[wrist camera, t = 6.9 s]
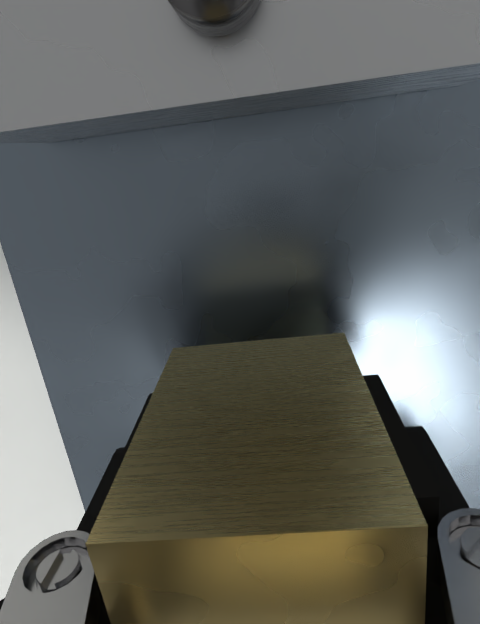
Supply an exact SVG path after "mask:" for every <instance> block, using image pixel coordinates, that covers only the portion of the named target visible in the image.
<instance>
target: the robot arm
mask: <svg viewBox="0 0 480 624" xmlns="http://www.w3.org/2000/svg"><path fill="white" fill-rule="evenodd" d="M363 377H364V380H365V382H366V384H367V387H368V389H369V391H370V394H371V396H372V398H373V401H374V403H375V405H376V407H377V410H378V412H379V414H380V417H381V419H382V421H383V424H384V426H385V428H386V431H387V433H388V435H389V437H390V440H391V442H392V444H393V447H394V449H395V451H396V454H397V456H398V458H399V461H400V463H401V465H402V468H403V470H404V472H405V474H406V477H407V479H408V481H409V484H410V486H411V488H412V491H413V493H414V495H415V498H416V500H417V502H418V504H419V507H420V509H421V511H422V514H423V516H424V518H425V521H426V523H427V525H428V539H427V571H426V603H425V624H480V509H476V508H470V507H469V506H468V504H467V502H466V500H465V498H464V497H463V495H462V493H461V491H460V490H459V488H458V486H457V484H456V483H455V481H454V479H453V477H452V476H451V474H450V472H449V470H448V469H447V467H446V465H445V463H444V462H443V460H442V458H441V456H440V454H439V453H438V451H437V449H436V447H435V446H434V444H433V442H432V440H431V439H430V437H429V435H428V433H427V432H426V430H425V429H424V427H422V426H409V427H405V426H404V424H403V422H402V420H401V418H400V416H399V414H398V412H397V410H396V408H395V406H394V404H393V402H392V400H391V398H390V396H389V394H388V392H387V390H386V388H385V386H384V384H383V382H382V380H381V378H380V376H379V375H378V374H375V375H363ZM152 394H153V393H150V394H149V396H148V398H147V400H146V402H145V404H144V407H143V409H142V411H141V413H140V415H139V417H138V420H137V422H136V424H135V426H134V428H133V431H132V433H131V435H130V437H129V439H128V442H127V444H126V446H125V447H121V448H118V449H116V451H115V452H114V454H113V456H112V458H111V460H110V462H109V464H108V466H107V469H106V471H105V473H104V475H103V477H102V479H101V481H100V483H99V485H98V487H97V489H96V491H95V493H94V495H93V498H92V500H91V502H90V504H89V506H88V508H87V510H86V512H85V514H84V516H83V518H82V520H81V522H80V524H79V526H78V529H77V530H73V531H65V532H61V533H58V534H55V535H53V536H51V537H49V538H47V539H45V540H43V541H42V542H40V543H39V544H38V545H36V546H35V547H34V548H33V549H31V550H30V551H29V552H28V554H27V555H26V556H25V557H24V558H23V559H22V560H21V562H20V564H19V566H18V567H17V569H16V571H15V573H14V576H13V579H12V581H11V584H10V586H9V589H8V592H7V594H6V597H5V598H4V599H2V600H1V601H0V624H111V622H110V618H109V615H108V612H107V609H106V606H105V603H104V600H103V597H102V594H101V591H100V588H99V585H98V582H97V578H96V575H95V572H94V569H93V566H92V563H91V560H90V557H89V554H88V551H87V548H86V545H85V544H86V542H87V539H88V537H89V535H90V533H91V531H92V528H93V526H94V524H95V522H96V519H97V517H98V515H99V513H100V510H101V508H102V506H103V504H104V501H105V499H106V497H107V495H108V493H109V490H110V488H111V486H112V484H113V481H114V479H115V477H116V475H117V472H118V470H119V468H120V466H121V463H122V461H123V459H124V457H125V455H126V452H127V450H128V448H129V446H130V443H131V441H132V439H133V437H134V434H135V432H136V430H137V428H138V425H139V423H140V421H141V419H142V416H143V414H144V412H145V410H146V408H147V405H148V403H149V401H150V399H151V396H152Z"/></svg>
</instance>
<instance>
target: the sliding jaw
mask: <svg viewBox="0 0 480 624" xmlns="http://www.w3.org/2000/svg"><path fill="white" fill-rule="evenodd" d="M479 79H480V0H0V143H50V142H57V141H64V140H72V139H79V138H86V137H93V136H100V135H107V134H115V133H122V132H129V131H136V130H143V129H150V128H158V127H165V126H172V125H179V124H186V123H193V122H200V121H208V120H215V119H222V118H229V117H236V116H243V115H251V114H258V113H265V112H272V111H279V110H286V109H294V108H301V107H308V106H315V105H322V104H329V103H336V102H344V101H351V100H358V99H365V98H372V97H379V96H387V95H394V94H401V93H408V92H415V91H422V90H429V89H437V88H444V87H451V86H458V85H463V84H466V83H469V82H472V81H476V80H479Z"/></svg>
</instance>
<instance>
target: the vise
mask: <svg viewBox="0 0 480 624" xmlns="http://www.w3.org/2000/svg"><path fill="white" fill-rule="evenodd" d="M0 242H1V245H2V249H3V252H4V255H5V258H6V261H7V264H8V268H9V271H10V274H11V277H12V280H13V283H14V287H15V290H16V293H17V296H18V299H19V303H20V306H21V309H22V312H23V315H24V318H25V322H26V325H27V328H28V331H29V334H30V337H31V341H32V344H33V347H34V350H35V353H36V356H37V360H38V363H39V366H40V369H41V372H42V376H43V379H44V382H45V385H46V388H47V391H48V395H49V398H50V401H51V404H52V407H53V410H54V414H55V417H56V420H57V423H58V426H59V429H60V433H61V436H62V439H63V442H64V445H65V449H66V452H67V455H68V458H69V461H70V464H71V468H72V471H73V474H74V477H75V480H76V483H77V487H78V490H79V493H80V496H81V499H82V503H83V506H84V509H85V512H86V510H87V508H88V506H89V504H90V502H91V500H92V498H93V495H94V493H95V491H96V489H97V487H98V485H99V483H100V481H101V479H102V477H103V475H104V473H105V471H106V469H107V466H108V464H109V462H110V460H111V458H112V456H113V454H114V452H115V451H116V449H118V448H121V447H125V446H126V444H127V442H128V439H129V437H130V435H131V433H132V431H133V428H134V426H135V424H136V422H137V420H138V417H139V415H140V413H141V411H142V409H143V407H144V404H145V402H146V400H147V398H148V396H149V394H150V393H153V392H154V390H155V387H156V385H157V383H158V381H159V378H160V376H161V374H162V372H163V370H164V367H165V365H166V363H167V361H168V358H169V356H170V354H171V352H172V349H173V348H180V347H191V346H201V345H212V344H223V343H234V342H245V341H255V340H266V339H277V338H288V337H299V336H309V335H320V334H331V333H342V332H344V334H345V336H346V338H347V340H348V343H349V345H350V347H351V350H352V352H353V354H354V357H355V359H356V361H357V364H358V366H359V368H360V371H361V373H362V375H375V374H378V375H379V376H380V378H381V380H382V382H383V384H384V386H385V388H386V390H387V392H388V394H389V396H390V398H391V400H392V402H393V404H394V406H395V408H396V410H397V412H398V414H399V416H400V418H401V420H402V422H403V424H404V426H405V427H409V426H422V427H424V429H425V430H426V432H427V433H428V435H429V437H430V439H431V440H432V442H433V444H434V446H435V447H436V449H437V451H438V453H439V454H440V456H441V458H442V460H443V462H444V463H445V465H446V467H447V469H448V470H449V472H450V474H451V476H452V477H453V479H454V481H455V483H456V484H457V486H458V488H459V490H460V491H461V493H462V495H463V497H464V498H465V500H466V502H467V504H468V506H469V507H470V508H476V509H480V79H479V80H476V81H472V82H469V83H466V84H463V85H458V86H451V87H444V88H437V89H429V90H422V91H415V92H408V93H401V94H394V95H387V96H379V97H372V98H365V99H358V100H351V101H344V102H336V103H329V104H322V105H315V106H308V107H301V108H294V109H286V110H279V111H272V112H265V113H258V114H251V115H243V116H236V117H229V118H222V119H215V120H208V121H200V122H193V123H186V124H179V125H172V126H165V127H158V128H150V129H143V130H136V131H129V132H122V133H115V134H107V135H100V136H93V137H86V138H79V139H72V140H64V141H57V142H50V143H0Z"/></svg>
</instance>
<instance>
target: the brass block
mask: <svg viewBox="0 0 480 624" xmlns="http://www.w3.org/2000/svg"><path fill="white" fill-rule="evenodd" d="M427 539H428V525H427V523H426V521H425V518H424V516H423V514H422V511H421V509H420V507H419V504H418V502H417V500H416V498H415V495H414V493H413V491H412V488H411V486H410V484H409V481H408V479H407V477H406V474H405V472H404V470H403V468H402V465H401V463H400V461H399V458H398V456H397V454H396V451H395V449H394V447H393V444H392V442H391V440H390V437H389V435H388V433H387V431H386V428H385V426H384V424H383V421H382V419H381V417H380V414H379V412H378V410H377V407H376V405H375V403H374V401H373V398H372V396H371V394H370V391H369V389H368V387H367V384H366V382H365V380H364V377H363V375H362V373H361V371H360V368H359V366H358V364H357V361H356V359H355V357H354V354H353V352H352V350H351V347H350V345H349V343H348V340H347V338H346V336H345V334H344V332H342V333H331V334H320V335H309V336H299V337H288V338H277V339H266V340H255V341H245V342H234V343H223V344H212V345H201V346H191V347H180V348H173V349H172V352H171V354H170V356H169V358H168V361H167V363H166V365H165V367H164V370H163V372H162V374H161V376H160V378H159V381H158V383H157V385H156V387H155V390H154V392H153V394H152V396H151V399H150V401H149V403H148V405H147V408H146V410H145V412H144V414H143V416H142V419H141V421H140V423H139V425H138V428H137V430H136V432H135V434H134V437H133V439H132V441H131V443H130V446H129V448H128V450H127V452H126V455H125V457H124V459H123V461H122V463H121V466H120V468H119V470H118V472H117V475H116V477H115V479H114V481H113V484H112V486H111V488H110V490H109V493H108V495H107V497H106V499H105V501H104V504H103V506H102V508H101V510H100V513H99V515H98V517H97V519H96V522H95V524H94V526H93V528H92V531H91V533H90V535H89V537H88V539H87V542H86V544H85V545H86V548H87V551H88V554H89V557H90V560H91V563H92V566H93V569H94V572H95V575H96V578H97V582H98V585H99V588H100V591H101V594H102V597H103V600H104V603H105V606H106V609H107V612H108V615H109V618H110V622H111V624H425V603H426V571H427Z"/></svg>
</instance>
